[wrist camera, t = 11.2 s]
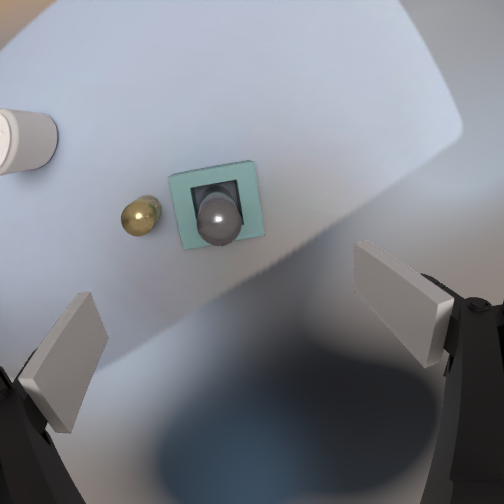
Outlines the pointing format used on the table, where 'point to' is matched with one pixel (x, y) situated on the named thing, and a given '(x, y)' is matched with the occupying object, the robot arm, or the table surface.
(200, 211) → the long pin
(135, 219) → the short pin
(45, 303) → the table surface
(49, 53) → the table surface
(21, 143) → the beverage can
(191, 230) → the hole block
